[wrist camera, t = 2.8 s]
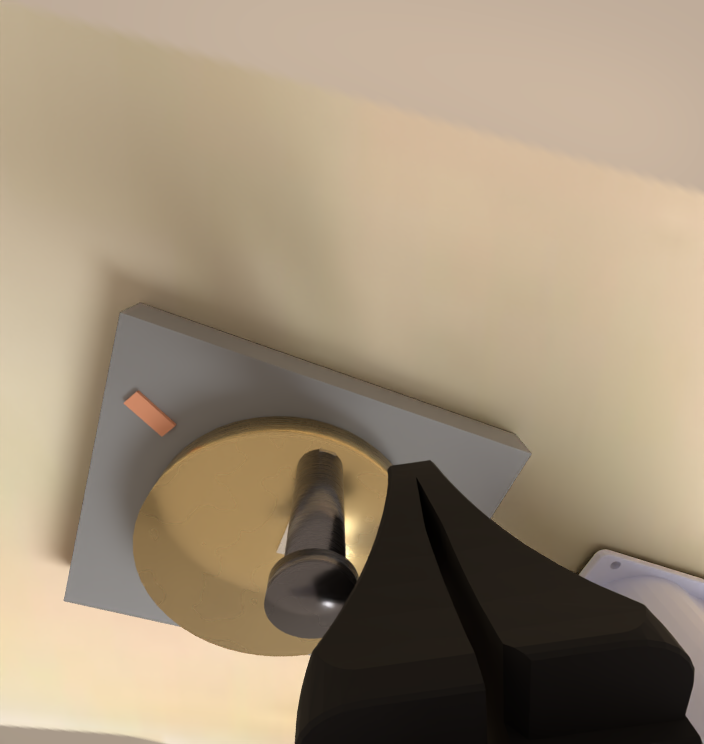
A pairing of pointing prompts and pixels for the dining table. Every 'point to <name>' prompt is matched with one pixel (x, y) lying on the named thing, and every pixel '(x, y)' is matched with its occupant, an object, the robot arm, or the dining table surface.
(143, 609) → the stand
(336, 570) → the brass disc with crank
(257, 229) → the dining table surface
